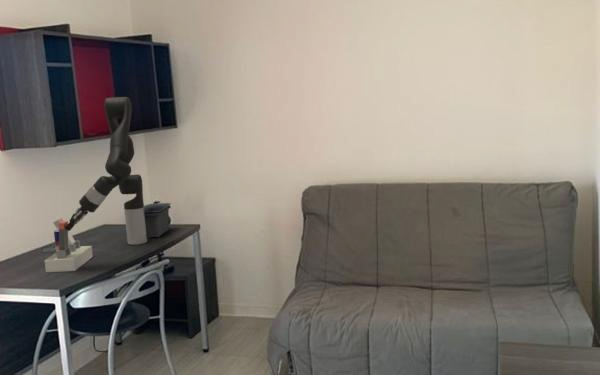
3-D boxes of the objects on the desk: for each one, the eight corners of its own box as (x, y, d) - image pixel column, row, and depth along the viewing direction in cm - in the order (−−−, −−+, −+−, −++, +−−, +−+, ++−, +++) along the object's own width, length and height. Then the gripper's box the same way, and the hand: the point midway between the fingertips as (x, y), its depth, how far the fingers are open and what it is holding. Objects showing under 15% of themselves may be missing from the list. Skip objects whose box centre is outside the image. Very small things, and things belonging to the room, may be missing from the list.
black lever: (63, 254, 255) (62, 221, 253) (68, 254, 255) (67, 221, 253) (59, 256, 251) (58, 223, 249) (64, 257, 251) (64, 223, 249)
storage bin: (161, 238, 298) (159, 210, 296) (131, 239, 300) (128, 211, 298) (175, 229, 319) (172, 202, 317) (146, 230, 321) (144, 203, 319)
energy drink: (55, 258, 271) (52, 232, 269) (57, 255, 276) (55, 229, 274) (68, 256, 272) (65, 231, 270) (70, 254, 277) (67, 228, 275)
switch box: (66, 258, 270) (64, 240, 269) (92, 256, 270) (90, 238, 269) (45, 272, 248) (43, 253, 247) (74, 270, 248) (72, 251, 247)
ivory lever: (74, 248, 266) (57, 220, 264) (78, 246, 266) (61, 218, 264) (70, 251, 262) (53, 222, 260) (75, 248, 262) (57, 220, 260)
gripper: (91, 190, 255) (66, 220, 257) (80, 195, 242) (54, 227, 244) (105, 201, 256) (79, 231, 258) (95, 207, 243) (68, 238, 245)
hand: (67, 229), depth 251 cm, fingers closed
